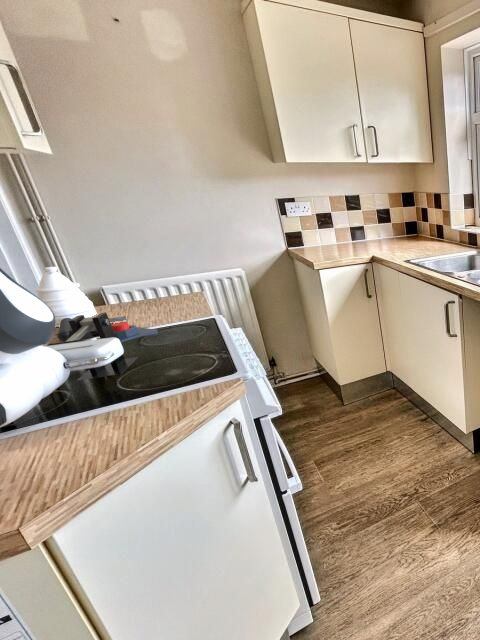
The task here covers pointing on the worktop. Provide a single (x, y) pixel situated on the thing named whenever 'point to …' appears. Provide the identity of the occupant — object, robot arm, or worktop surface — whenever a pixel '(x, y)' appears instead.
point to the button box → (133, 333)
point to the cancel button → (120, 326)
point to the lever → (80, 331)
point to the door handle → (67, 332)
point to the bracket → (104, 332)
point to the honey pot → (63, 296)
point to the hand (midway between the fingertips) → (70, 344)
